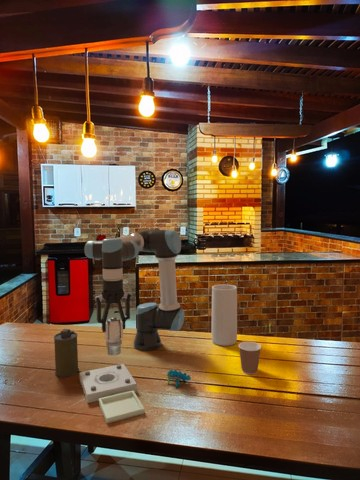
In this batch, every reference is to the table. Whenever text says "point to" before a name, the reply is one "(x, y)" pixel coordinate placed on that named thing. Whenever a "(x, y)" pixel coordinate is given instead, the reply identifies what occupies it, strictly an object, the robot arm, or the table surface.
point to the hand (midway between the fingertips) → (113, 338)
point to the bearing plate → (106, 382)
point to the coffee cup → (249, 356)
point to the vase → (224, 314)
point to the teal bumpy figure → (179, 376)
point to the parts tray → (120, 406)
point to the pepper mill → (113, 336)
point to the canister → (66, 353)
